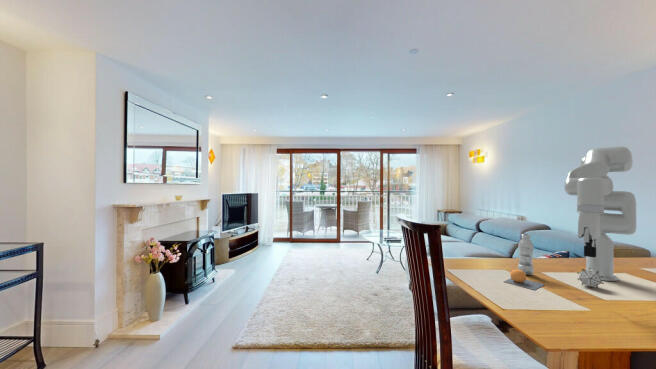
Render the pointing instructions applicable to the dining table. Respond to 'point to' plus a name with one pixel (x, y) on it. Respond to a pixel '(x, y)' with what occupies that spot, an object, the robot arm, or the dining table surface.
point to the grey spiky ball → (590, 278)
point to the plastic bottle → (525, 254)
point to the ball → (518, 275)
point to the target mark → (526, 284)
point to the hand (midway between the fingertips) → (590, 256)
